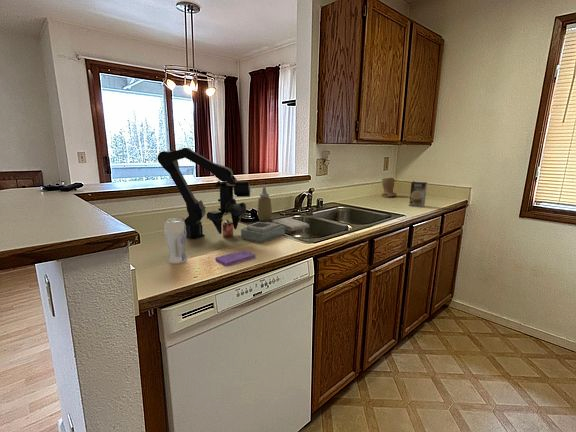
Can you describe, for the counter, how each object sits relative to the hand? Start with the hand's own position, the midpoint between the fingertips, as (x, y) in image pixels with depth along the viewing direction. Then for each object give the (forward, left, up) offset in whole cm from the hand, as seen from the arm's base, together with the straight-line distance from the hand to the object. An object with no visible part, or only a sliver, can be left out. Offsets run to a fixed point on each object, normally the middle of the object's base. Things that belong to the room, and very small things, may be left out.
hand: (227, 231), depth 139 cm
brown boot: (+153, -22, -2) cm, 155 cm away
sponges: (-19, -23, -3) cm, 30 cm away
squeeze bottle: (+33, +6, -2) cm, 34 cm away
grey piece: (+11, -13, -2) cm, 17 cm away
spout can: (0, 0, -2) cm, 2 cm away
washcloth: (+31, -12, -3) cm, 33 cm away
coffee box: (+124, -51, -2) cm, 134 cm away
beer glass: (-32, -8, -2) cm, 33 cm away
